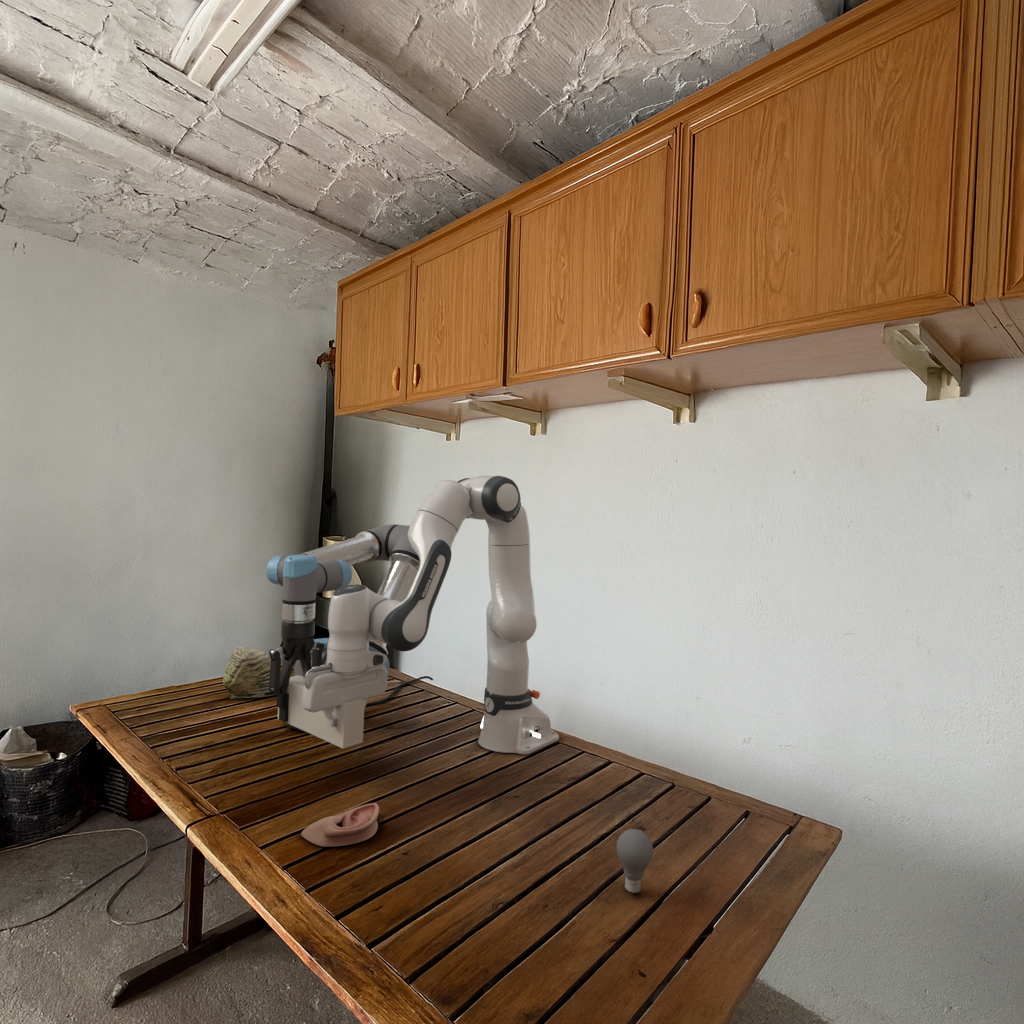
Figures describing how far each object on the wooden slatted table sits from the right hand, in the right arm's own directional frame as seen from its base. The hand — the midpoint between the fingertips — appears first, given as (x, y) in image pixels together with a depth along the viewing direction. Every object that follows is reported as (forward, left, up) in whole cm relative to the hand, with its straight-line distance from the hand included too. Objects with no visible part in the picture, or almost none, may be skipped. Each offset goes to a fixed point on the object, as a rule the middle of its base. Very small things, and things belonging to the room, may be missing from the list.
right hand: (345, 722), depth 139 cm
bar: (+2, -10, -4) cm, 10 cm away
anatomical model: (+8, +18, -14) cm, 24 cm away
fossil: (-4, -73, -14) cm, 75 cm away
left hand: (+4, -19, -4) cm, 20 cm away
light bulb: (-23, +62, -14) cm, 68 cm away
